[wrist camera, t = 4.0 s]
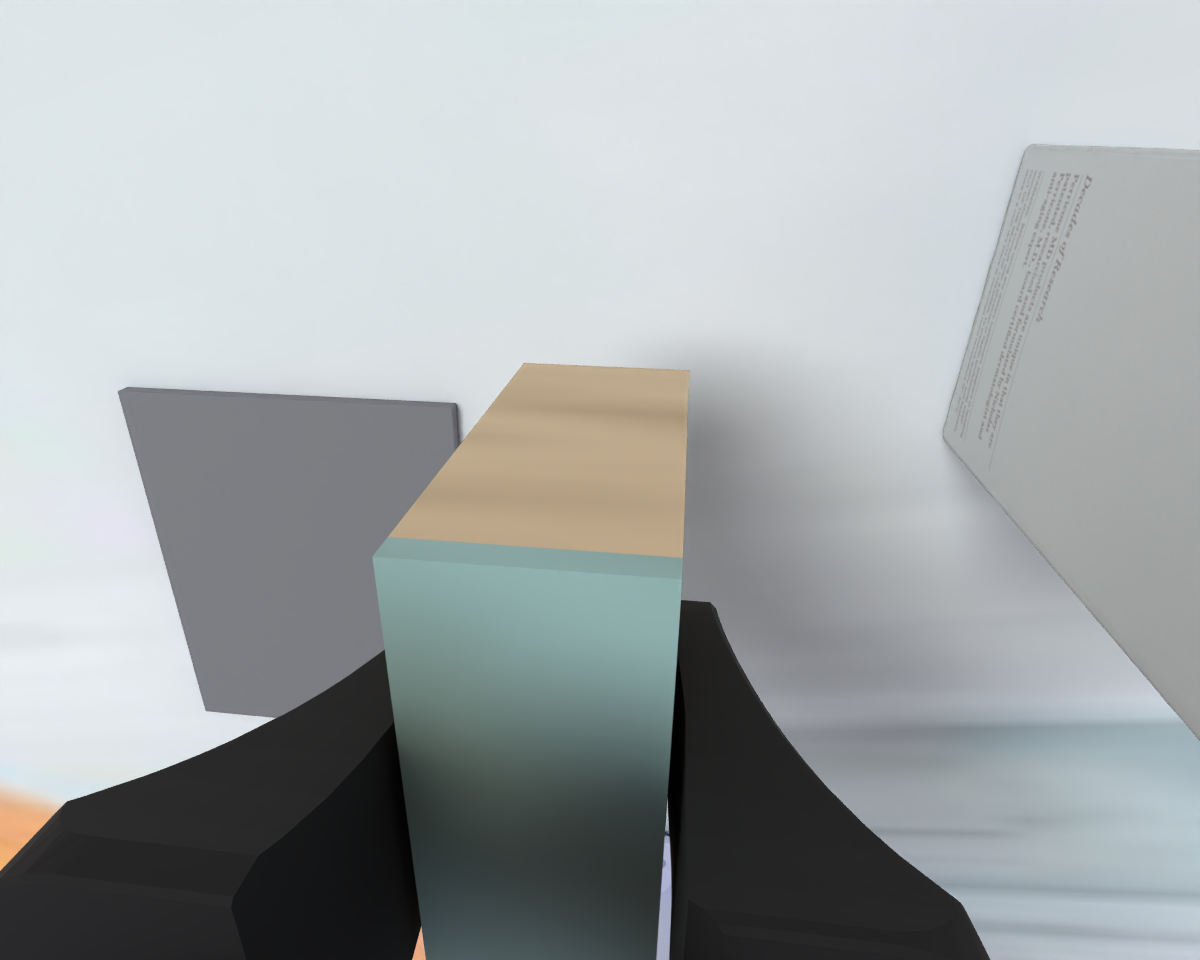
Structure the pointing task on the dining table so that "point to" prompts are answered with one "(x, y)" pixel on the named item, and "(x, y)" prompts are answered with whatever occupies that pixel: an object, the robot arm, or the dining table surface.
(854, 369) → the dining table surface
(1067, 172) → the supplement box
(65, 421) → the dining table surface
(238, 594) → the mat
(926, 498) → the dining table surface
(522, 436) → the slab
